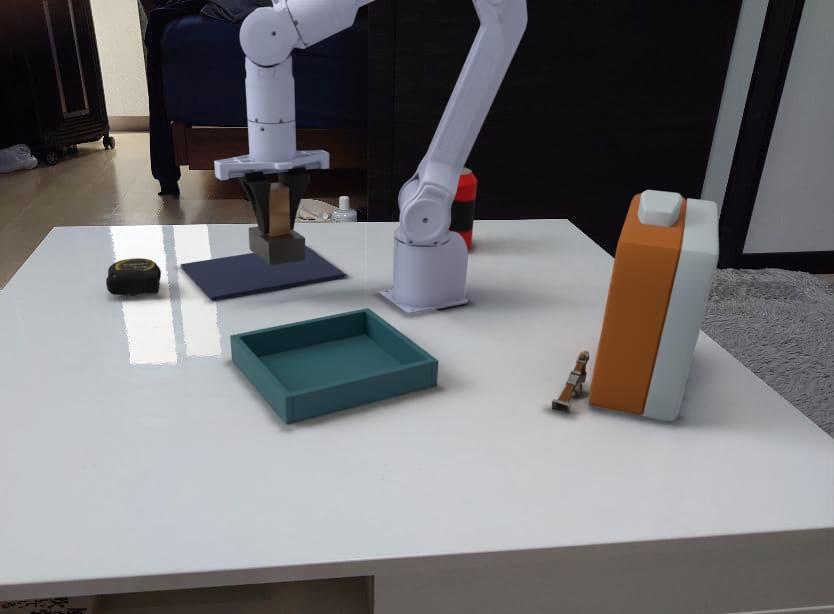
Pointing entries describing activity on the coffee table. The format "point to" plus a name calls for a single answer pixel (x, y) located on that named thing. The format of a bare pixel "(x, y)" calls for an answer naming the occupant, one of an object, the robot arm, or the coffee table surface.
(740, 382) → the coffee table surface
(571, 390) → the wooden post with brackets
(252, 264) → the pad
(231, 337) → the tray
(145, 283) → the tape measure
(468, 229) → the soda can
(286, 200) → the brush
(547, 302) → the coffee table surface
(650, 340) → the orange and white box
